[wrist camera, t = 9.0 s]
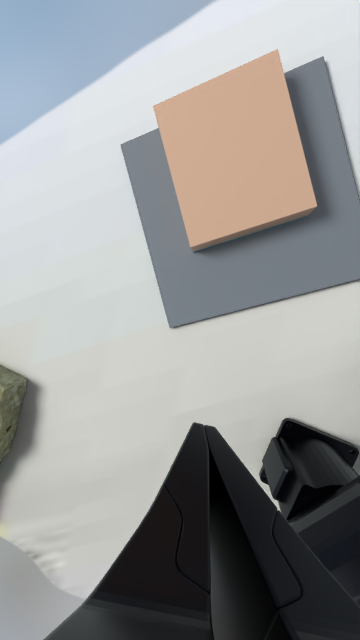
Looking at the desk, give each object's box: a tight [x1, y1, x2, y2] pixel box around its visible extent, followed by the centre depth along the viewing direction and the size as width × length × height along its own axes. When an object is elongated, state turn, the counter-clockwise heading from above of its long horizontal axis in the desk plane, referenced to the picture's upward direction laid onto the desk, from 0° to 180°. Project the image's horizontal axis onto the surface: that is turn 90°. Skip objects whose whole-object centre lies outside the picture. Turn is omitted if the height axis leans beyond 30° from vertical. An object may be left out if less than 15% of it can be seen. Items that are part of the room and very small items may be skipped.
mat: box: [121, 56, 360, 328], centre depth 20 cm, size 18×18×1 cm
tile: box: [153, 49, 317, 253], centre depth 19 cm, size 2×10×12 cm
